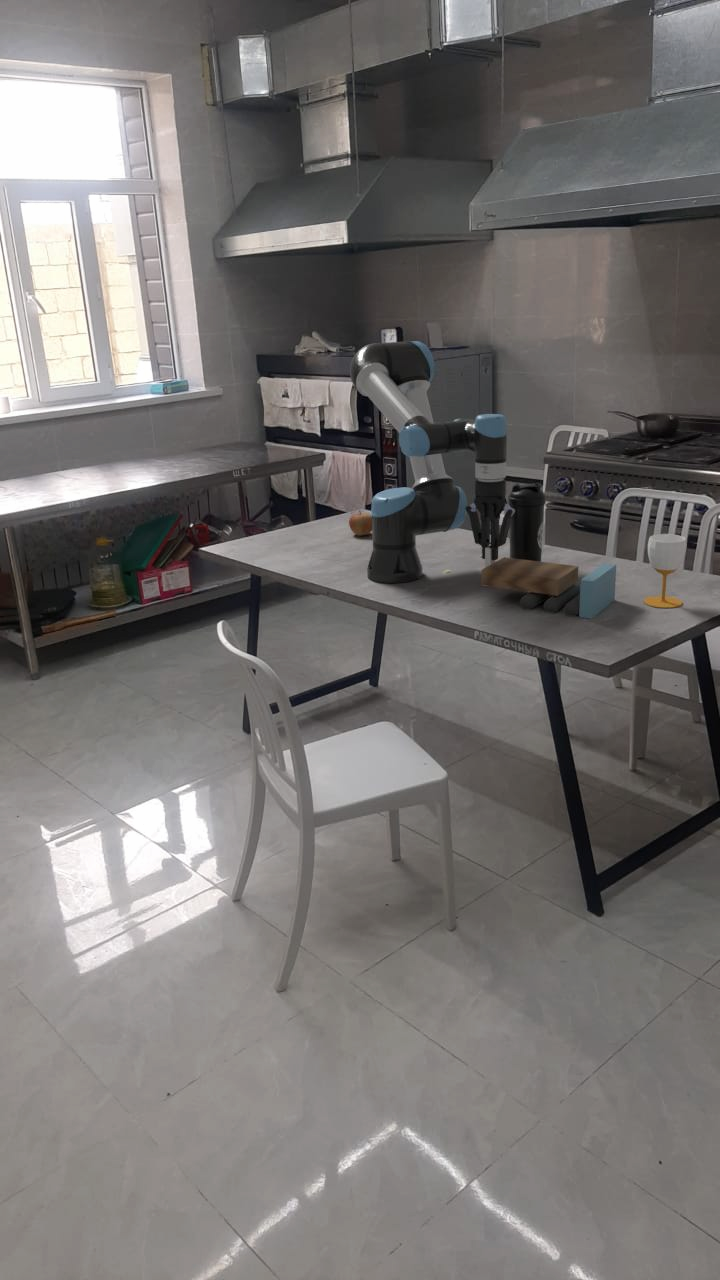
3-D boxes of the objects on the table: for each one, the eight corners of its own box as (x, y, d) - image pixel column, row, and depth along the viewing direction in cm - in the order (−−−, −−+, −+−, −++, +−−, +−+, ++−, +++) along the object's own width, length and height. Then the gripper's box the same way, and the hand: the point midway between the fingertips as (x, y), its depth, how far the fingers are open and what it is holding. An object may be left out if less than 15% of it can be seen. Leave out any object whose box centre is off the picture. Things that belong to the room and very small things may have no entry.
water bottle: (543, 571, 263) (545, 487, 255) (505, 570, 265) (507, 487, 258) (544, 561, 273) (546, 480, 265) (507, 561, 275) (509, 480, 267)
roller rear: (519, 608, 234) (533, 611, 233) (520, 594, 233) (533, 597, 231) (545, 591, 247) (558, 593, 245) (546, 578, 246) (559, 580, 244)
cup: (676, 610, 228) (681, 544, 223) (638, 605, 233) (642, 540, 227) (686, 600, 235) (692, 535, 230) (649, 595, 240) (654, 532, 234)
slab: (481, 585, 240) (481, 569, 239) (503, 572, 250) (504, 557, 249) (557, 595, 229) (558, 579, 228) (577, 581, 240) (578, 566, 238)
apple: (347, 537, 308) (346, 513, 305) (351, 532, 315) (350, 507, 312) (372, 538, 306) (371, 513, 304) (376, 532, 314) (375, 507, 311)
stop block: (579, 616, 226) (580, 579, 223) (602, 598, 239) (604, 563, 236) (591, 618, 225) (593, 581, 222) (614, 599, 237) (616, 564, 234)
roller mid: (547, 615, 231) (560, 610, 229) (541, 602, 231) (553, 597, 229) (572, 597, 243) (584, 592, 241) (566, 585, 243) (577, 580, 241)
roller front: (577, 617, 227) (578, 603, 225) (563, 615, 228) (564, 601, 227) (600, 599, 239) (601, 585, 238) (587, 597, 241) (588, 583, 240)
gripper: (459, 480, 237) (460, 572, 245) (508, 483, 230) (507, 578, 238) (473, 475, 243) (473, 565, 251) (521, 478, 236) (519, 571, 244)
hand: (490, 571), depth 245 cm, fingers closed
